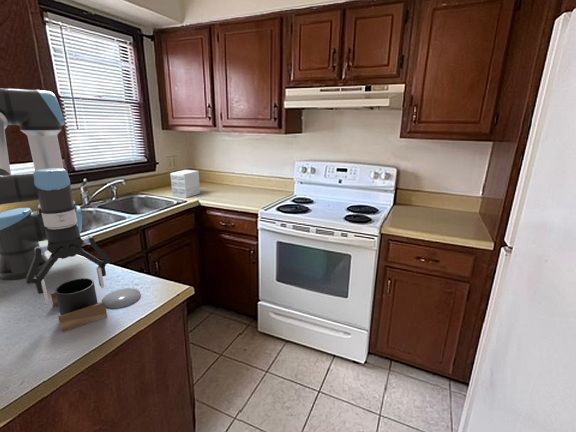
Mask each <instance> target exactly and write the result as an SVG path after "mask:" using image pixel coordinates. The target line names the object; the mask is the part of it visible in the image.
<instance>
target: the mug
mask: <svg viewBox="0 0 576 432" xmlns="http://www.w3.org/2000/svg"><path fill="white" fill-rule="evenodd" d="M54 292H55V293H56V297H57V302H58V306H57V307H58V309H59V314H60V315H59V316H61V315H64V314H67V313H70V312H73V311H76V310H79V309H82V308H86V307H89V306H92V305H95V304H98V303H99V302H98V296H97V293H96V292H97V291H96V286H95V282H94V280H93V279H91V278H86V277H85V278H84V277H83V278H76V279H71V280H68V281H64V282H63V283H62V284H60V285H58V286H57V287H56V288H55V290H54Z"/></svg>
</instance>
